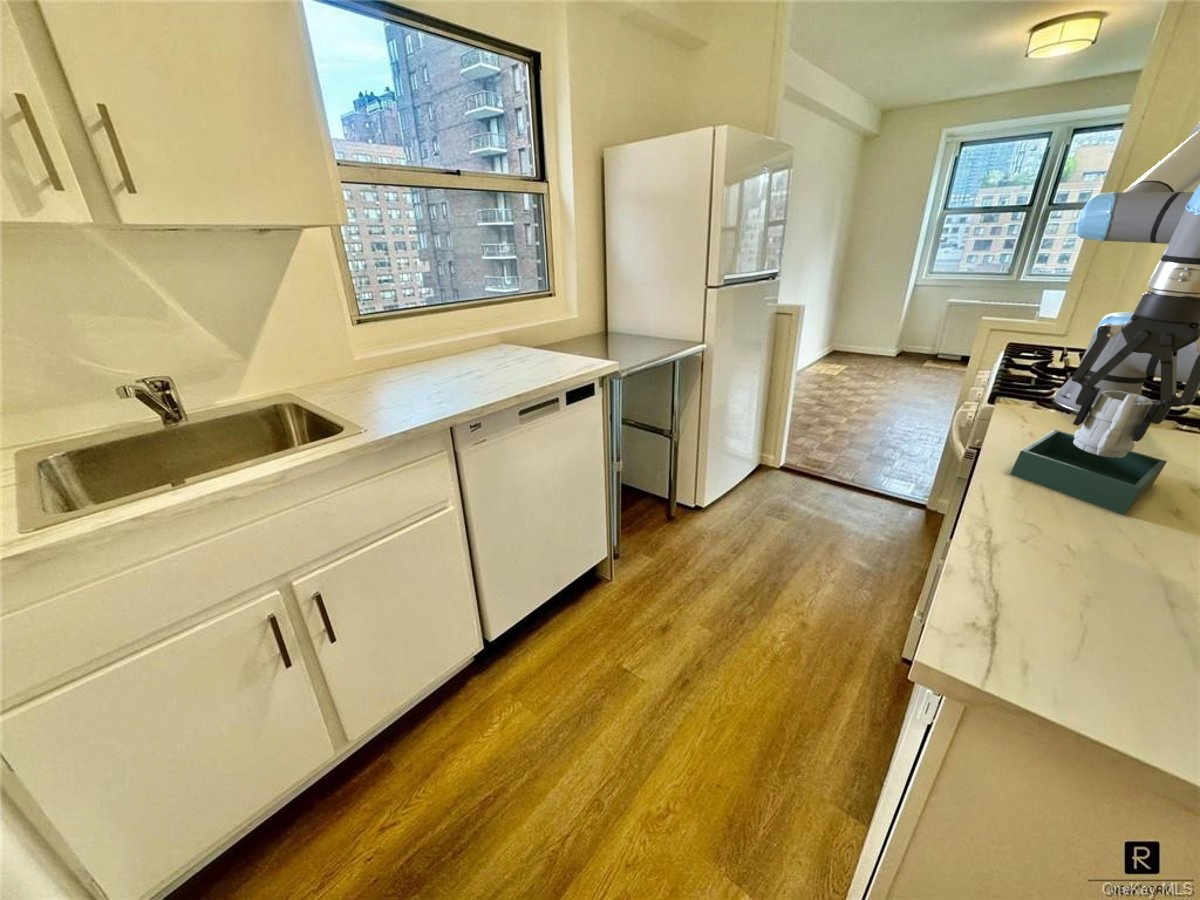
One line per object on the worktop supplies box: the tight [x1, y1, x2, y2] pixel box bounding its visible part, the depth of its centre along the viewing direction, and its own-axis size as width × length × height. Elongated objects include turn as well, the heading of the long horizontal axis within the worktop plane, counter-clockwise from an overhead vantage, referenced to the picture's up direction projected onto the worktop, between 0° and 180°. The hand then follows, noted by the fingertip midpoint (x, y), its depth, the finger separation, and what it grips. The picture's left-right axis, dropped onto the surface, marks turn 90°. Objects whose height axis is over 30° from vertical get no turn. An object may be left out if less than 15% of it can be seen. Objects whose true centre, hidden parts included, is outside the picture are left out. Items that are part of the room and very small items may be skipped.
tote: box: [1009, 429, 1168, 516], centre depth 86 cm, size 17×16×5 cm
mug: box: [1073, 391, 1154, 458], centre depth 82 cm, size 8×12×12 cm, turn 135°
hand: (1106, 430), depth 83 cm, fingers closed on mug, 7 cm apart
